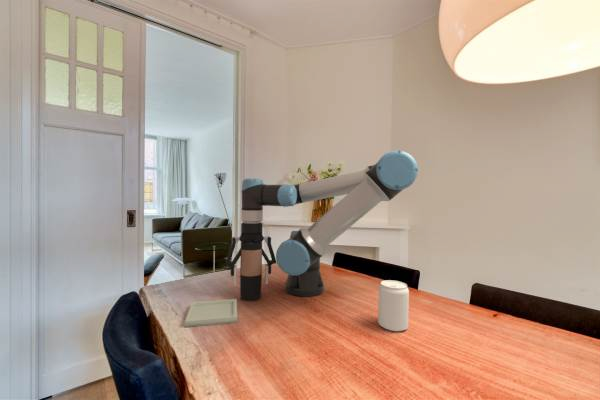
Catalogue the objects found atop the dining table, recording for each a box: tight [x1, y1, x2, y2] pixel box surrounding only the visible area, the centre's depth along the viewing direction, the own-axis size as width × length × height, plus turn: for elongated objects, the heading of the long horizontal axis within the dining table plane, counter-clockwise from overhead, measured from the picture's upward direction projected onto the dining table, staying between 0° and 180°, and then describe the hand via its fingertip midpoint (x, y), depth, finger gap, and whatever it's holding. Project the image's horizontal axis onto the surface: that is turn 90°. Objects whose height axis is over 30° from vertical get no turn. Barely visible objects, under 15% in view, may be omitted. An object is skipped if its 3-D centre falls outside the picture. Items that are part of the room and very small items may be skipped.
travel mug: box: [239, 241, 263, 302], centre depth 97 cm, size 8×8×20 cm
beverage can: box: [377, 279, 410, 332], centre depth 77 cm, size 8×8×12 cm
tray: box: [184, 298, 238, 328], centre depth 83 cm, size 14×14×2 cm
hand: (250, 283), depth 97 cm, fingers open, 10 cm apart
